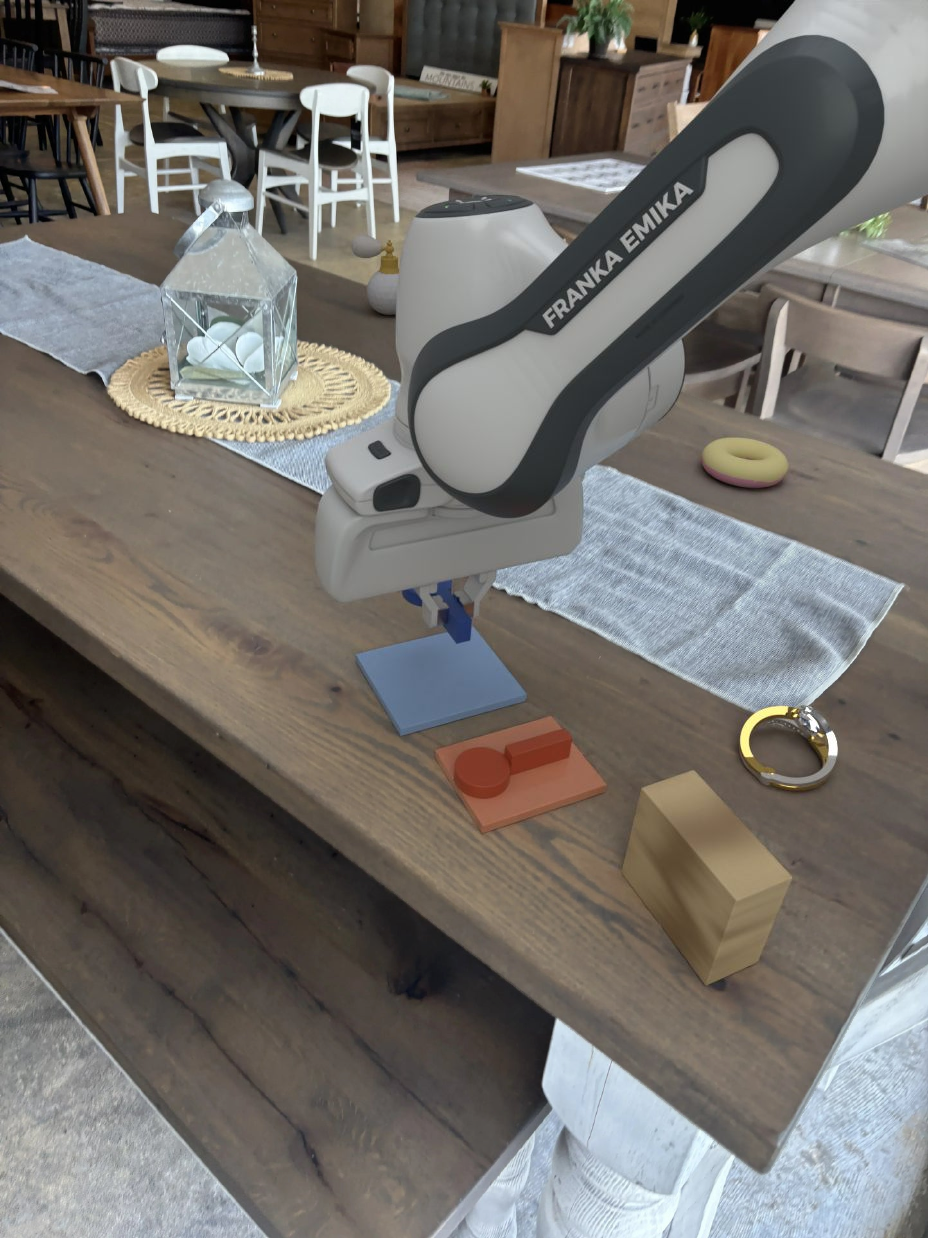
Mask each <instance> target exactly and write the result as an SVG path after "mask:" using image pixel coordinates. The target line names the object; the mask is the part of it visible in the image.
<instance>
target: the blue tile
mask: <svg viewBox="0 0 928 1238" xmlns="http://www.w3.org/2000/svg"><path fill="white" fill-rule="evenodd" d="M355 662H356V664H357V666H358V667H359V669H360V670H361V673H362V674H363V676H364V678H365V679H366V681H367V682H368V684H369V686H370V688H371V689H372V691H373V693H374V694H375V695H376V697H377V700H378V701H379V703H380V705H381V707H382V708H383V709H384V711H385V713H386V714H387V716H388V717H389V720H390V721H391V723H392V724H393V726H394V727H395V729H396V731H397V733H398V734H399V736H400V737H403V736H407V735H410V734H414V733H418V732H421V731H425V730H428V729H432V728H435V727H438V726H442V725H446V724H449V723H453V722H456V721H460V720H463V719H467V718H471V717H474V716H477V715H481V714H485V713H489V712H492V711H496V710H499V709H502V708H506V707H510V706H513V705H516V704H520V703H523V702H527V697H528V693H527V692H526V691H525V690H524V688H523V687H522V686H521V684H520V683H519V682H518V680H517V679H516V678H515V677H514V675H513V674H512V673H511V672H510V671H509V669H508V668H507V667H506V666H505V664H504V663H503V662H502V660H501V659H500V658H499V657H498V655H497V654H496V652H494V651H493V649H492V648H491V647H490V645H489V644H488V643H487V642H486V640H485V639H484V638H483V636H482V635H481V634H480V633H479V632H478V630H477V629H476V628H475V626H473V625H472V626H471V640H470V641H467V642H463V643H458V644H456V643H455V641H454V640H453V639H452V637H451V636H450V635H449V633H448V632H447V631H446V632H442V633H437V634H433V635H429V636H425V637H421V638H417V639H413V640H409V641H405V642H399V643H396V644H391V645H387V646H383V647H379V648H375V649H371V650H368V651H367V650H366V651H363V652H358V653H355Z"/></svg>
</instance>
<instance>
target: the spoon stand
mask: <svg viewBox="0 0 928 1238" xmlns="http://www.w3.org/2000/svg"><path fill="white" fill-rule="evenodd" d="M740 819H741V818H739V817H738V816H737V815H736V814H735V813H734V812H733V811H732V810H731V808H730V807H729V806H728V805H727V804H726V803H725V802H724V801H723V799H721V797H719V795H718V794H717V793H716V792H715V791H714V790H713V789H712V788H711V787H710V786H709V784H708V783H707V782H706V781H705V780H704V779H703V778H702V777H701V776H700V775H699V774H698V773H697V772H696V770H694V769H692V770H690V771H686V772H683V773H680V774H677V775H674V776H672V777H669V778H665V779H662V780H660V781H657V782H654V783H651V784H649V785H645V786H642V787H641V788H640V793H639V797H638V801H637V805H636V808H635V812H634V818H633V820H632V821H633V822H632V826H631V831H630V835H629V837H628V838H629V839H628V843H627V847H626V851H625V856H624V860H623V865H622V868H621V874H622V875H623V876H624V879H626V881H627V882H628V884H629V885H630V886H631V888H632V889H633V891H634V892H635V893H636V894H637V895H638V897H639V899H641V901H642V903H643V904H644V906H646V908H647V910H649V912H650V913H651V915H653V917H654V919H655V920H656V921H657V923H658V924H659V925H660V927H661V928H662V929H663V930H664V932H665V933H666V934H667V936H668V937H669V938H670V940H671V941H672V943H673V944H674V945H675V947H676V948H677V949H678V951H679V952H680V953H681V955H682V956H683V958H684V959H685V960H686V961H687V962H688V964H689V966H690V967H691V969H693V970H694V972H695V973H696V975H697V976H698V978H699V979H700V980H701V981H702V983H703V984H704V985H705V986H709V985H711V984H713V983H716V982H718V981H720V980H722V979H724V978H727V977H728V976H730V975H731V976H732V975H733V974H735V973H737V972H740V971H741V970H744V969H746V968H748V967H750V966H752V965H755V964H757V963H759V961H760V959H761V956H762V955H763V951H764V949H765V946H766V944H767V941H768V940H769V936H770V934H771V931H772V929H773V926H774V924H775V922H776V919H777V917H778V915H779V912H780V910H781V907H782V905H783V902H784V901H785V898H786V895H787V893H788V890H789V887H790V885H791V882H792V880H793V875H791V874H790V872H789V871H788V870H787V869H786V868H785V867H784V866H783V865H782V863H780V862H779V860H778V859H777V858H776V857H775V855H773V854H772V853H771V852H770V850H768V849H767V847H766V846H765V845H764V843H762V841H760V840H759V838H757V836H756V835H754V833H753V832H752V831H751V830H750V829H749V828H748V826H746V824H745V823H744V822H743V821H742V820H740Z"/></svg>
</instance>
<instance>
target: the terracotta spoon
mask: <svg viewBox="0 0 928 1238" xmlns="http://www.w3.org/2000/svg"><path fill="white" fill-rule="evenodd" d="M572 742H573V736H572V735H571V734H570V733H569V732H568V731H567V729H566V728H565V727H563V728H562V729H559V730H556V731H553V732H549V733H546V734H543V735H539V736H536V737H533V738H529V739H526V740H522V741H519V742H516V743H512V744H509V745H506V746H505V751H504V755H503V754H501V753H500V752H498V751H496V750H494V749H491V748H485V747H476V748H471V749H468V750H466V751H464V752H462V753H461V754H460V755H459V756H458V757H457V759H456V761H455V765H454V781H455V784H456V786H457V787H458V788H459V789H460V790H461V791H462V792H463V793H465V794H466V795H468V796H471V797H474V798H481V799H486V798H492V797H495V796H498V795H500V794H501V793H503V792H504V791H505V790H506V788H507V787H508V784H509V780H510V775H514V774H517V773H520V772H524V771H527V770H530V769H533V768H536V767H540V766H543V765H546V764H549V763H552V762H556V761H559V760H562V759H565V758H568V757H569V756H570V750H571V744H572Z"/></svg>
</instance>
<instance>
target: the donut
mask: <svg viewBox="0 0 928 1238" xmlns="http://www.w3.org/2000/svg"><path fill="white" fill-rule="evenodd" d="M701 464H702V467H703V469H704V470H705V472H707V473H708V474H709V475H710V476H711V477H713V478H714V479H716V480H718V481H721V482H722V483H724V484H728V485H731V486H735V487H740V488H747V489H748V488H750V489H761V488H768V487H772V486H774V485H777V484H778V483H780V482H781V481H782V480H783V479H784V478H785V477H786V476H787V473H788V470H789V462H788V459H787V457H786V456H785V454H784V453H783V451H781V450H779V449H778V448H777V447H775V446H773V445H772V444H769V443H766V442H764V441H760V440H756V439H753V438H748V437H747V438H746V437H735V436H734V437H722V438H718V439H715V440H713V441H711V442H710V443H708V444H707V445H706V446H705V448H703V451H702V453H701Z"/></svg>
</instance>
